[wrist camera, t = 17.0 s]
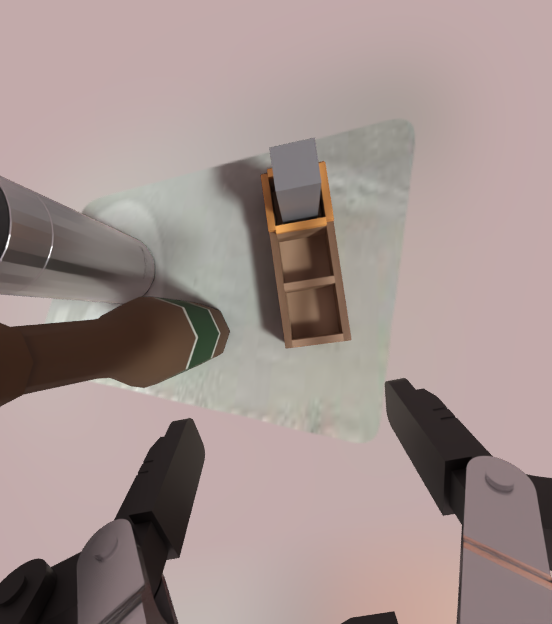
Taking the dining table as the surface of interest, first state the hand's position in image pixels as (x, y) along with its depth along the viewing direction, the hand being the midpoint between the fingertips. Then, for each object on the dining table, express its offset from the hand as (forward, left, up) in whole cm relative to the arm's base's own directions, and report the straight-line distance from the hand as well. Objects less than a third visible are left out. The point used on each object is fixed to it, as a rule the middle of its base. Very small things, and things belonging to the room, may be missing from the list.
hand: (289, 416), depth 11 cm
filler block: (+2, +17, -21) cm, 27 cm away
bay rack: (+2, +11, -22) cm, 25 cm away
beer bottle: (-12, +4, -22) cm, 26 cm away
